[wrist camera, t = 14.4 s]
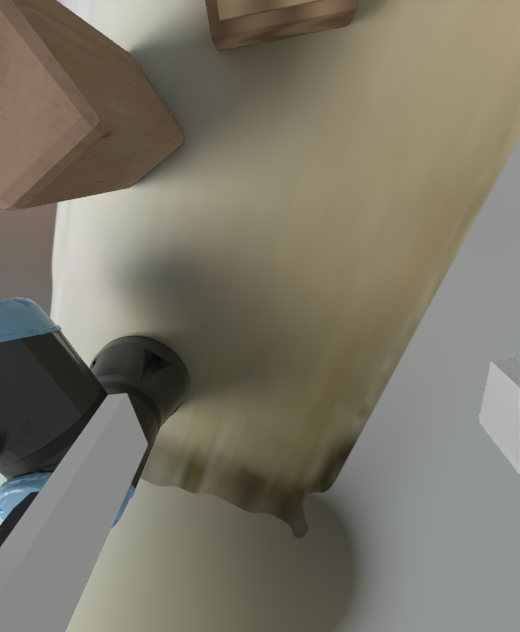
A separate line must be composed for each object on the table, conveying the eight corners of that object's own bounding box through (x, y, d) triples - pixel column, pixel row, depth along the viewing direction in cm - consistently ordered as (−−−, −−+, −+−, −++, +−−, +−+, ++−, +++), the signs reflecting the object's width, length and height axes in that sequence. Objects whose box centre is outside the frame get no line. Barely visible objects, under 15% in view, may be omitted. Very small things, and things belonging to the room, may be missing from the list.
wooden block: (190, 140, 36) (106, 121, 18) (127, 191, 39) (1, 219, 21) (128, 47, 33) (-49, -87, 15) (64, 111, 35) (-150, 64, 18)
